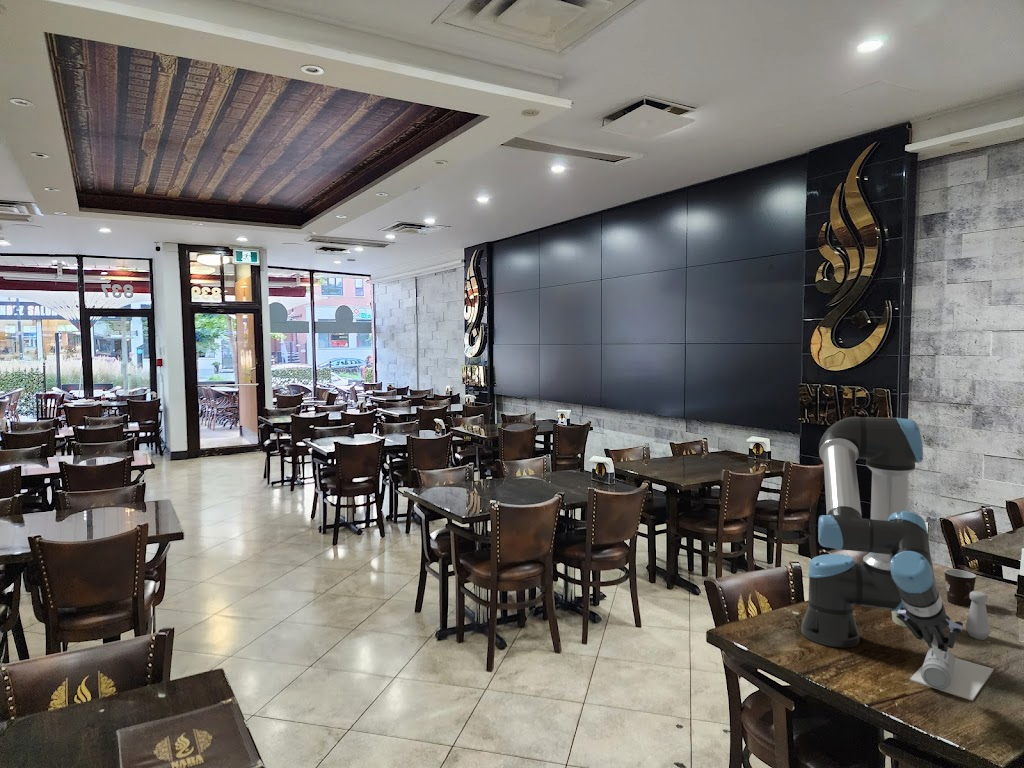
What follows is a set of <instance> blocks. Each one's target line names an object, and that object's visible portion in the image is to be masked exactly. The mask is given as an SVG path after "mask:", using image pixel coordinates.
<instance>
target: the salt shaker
mask: <svg viewBox="0 0 1024 768" xmlns="http://www.w3.org/2000/svg"><path fill="white" fill-rule="evenodd" d="M970 599H971V600H972V602H971V606H970V607H969V610H968V615H967V619H966V623H965V630H966V631H967V633H968V635H969V636H970V638H973V639H976V640H982V641H984V640H986V639H987V638H988V636H989V635H990V633H991V628H990V623H989V618H988V617H989V616H988V612H987V611H988V610H987V606H986V603H987V602H988V600H989V597H988V594H986V593H985V592H982V591H979V590H974V591H972V592H970Z"/></svg>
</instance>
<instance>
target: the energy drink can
mask: <svg viewBox="0 0 1024 768" xmlns="http://www.w3.org/2000/svg"><path fill="white" fill-rule="evenodd" d="M954 657H955V656H954V654H953V653H952V651H951V650H949V649H948V650H947V652H945V656H944V660H942V659H938V658H936V656H935V653H934V650H933V648H930V647H929V649H928V650H927V653H926V655H925V658H924V661H923V664H922V665H923V667H922V670H921V676H922V679H923V680H924V682H925V683H926V684H928V685H929V686H931V687H930V688H932V689H936V690H938V689H944V688H946V687H948V686H949V684H950V681H951V677H952V673H953V669H954V665H955V658H956V657H955V658H954ZM929 686H928V687H929Z"/></svg>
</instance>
